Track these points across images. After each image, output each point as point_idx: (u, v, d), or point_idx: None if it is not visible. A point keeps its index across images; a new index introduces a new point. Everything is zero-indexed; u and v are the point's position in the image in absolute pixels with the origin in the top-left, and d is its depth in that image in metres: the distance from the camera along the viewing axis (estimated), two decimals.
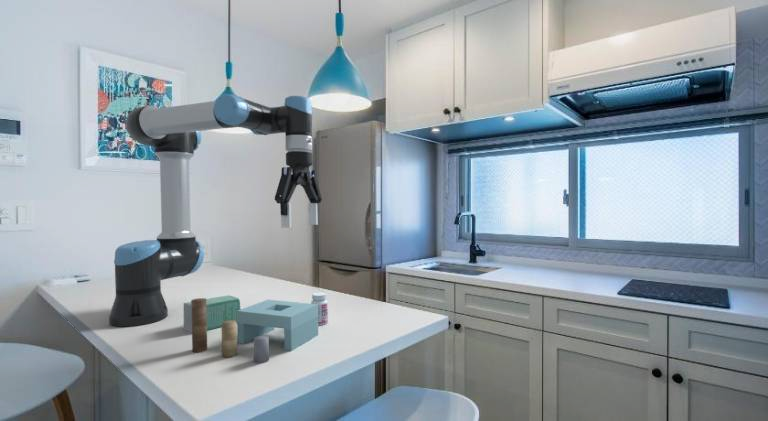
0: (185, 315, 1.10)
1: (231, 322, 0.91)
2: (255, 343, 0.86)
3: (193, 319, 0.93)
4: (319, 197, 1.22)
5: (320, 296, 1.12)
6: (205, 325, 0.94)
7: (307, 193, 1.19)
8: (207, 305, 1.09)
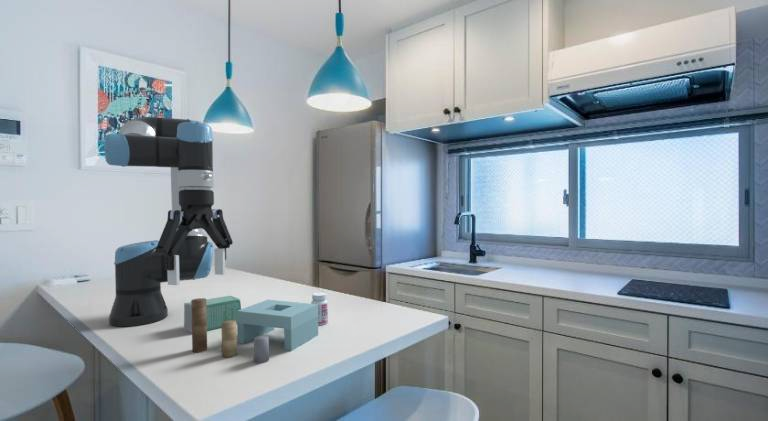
0: (185, 315, 1.10)
1: (231, 322, 0.91)
2: (255, 343, 0.86)
3: (193, 319, 0.93)
4: (228, 241, 1.01)
5: (320, 296, 1.12)
6: (205, 325, 0.94)
7: (211, 237, 0.99)
8: (207, 305, 1.08)
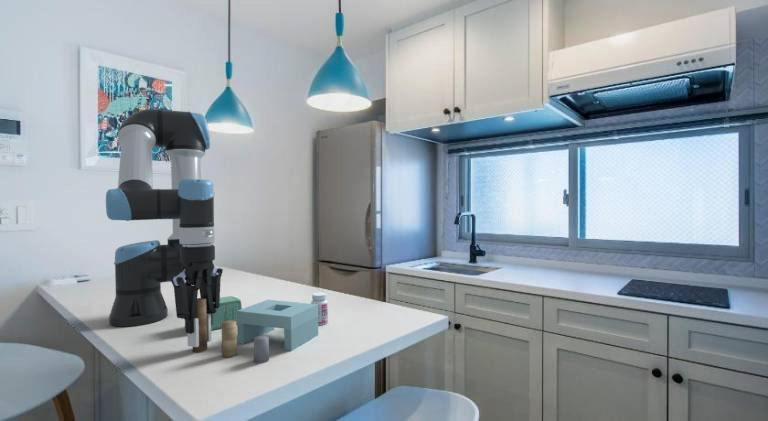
0: None
1: (231, 322, 0.91)
2: (255, 343, 0.86)
3: None
4: (216, 303, 0.98)
5: (320, 296, 1.12)
6: (205, 325, 0.94)
7: (202, 297, 0.96)
8: None
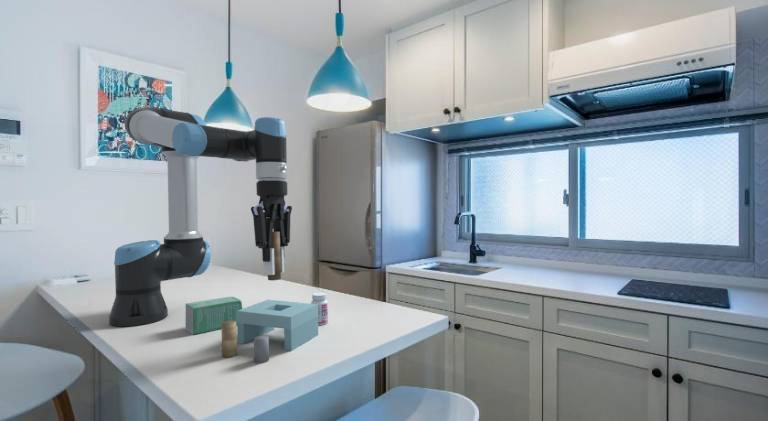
0: (187, 316, 1.09)
1: (231, 322, 0.91)
2: (255, 343, 0.86)
3: None
4: (287, 238, 1.04)
5: (320, 296, 1.12)
6: (279, 255, 1.00)
7: None
8: (207, 306, 1.08)
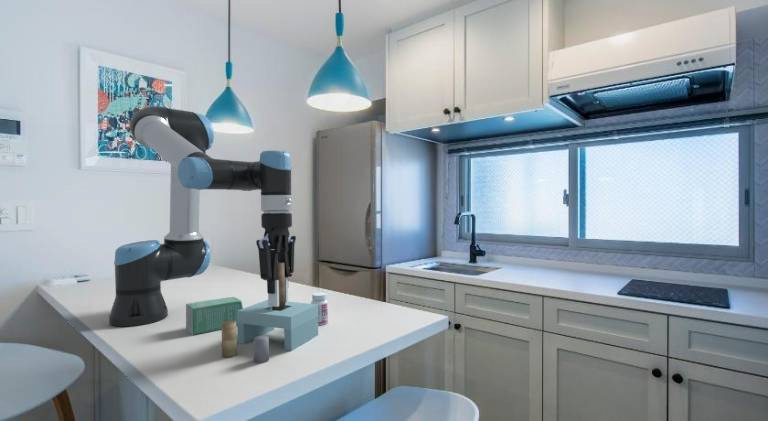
0: (187, 316, 1.09)
1: (231, 322, 0.91)
2: (255, 343, 0.86)
3: None
4: (291, 268, 1.05)
5: (320, 296, 1.12)
6: (284, 286, 1.01)
7: (279, 261, 1.03)
8: (207, 307, 1.07)
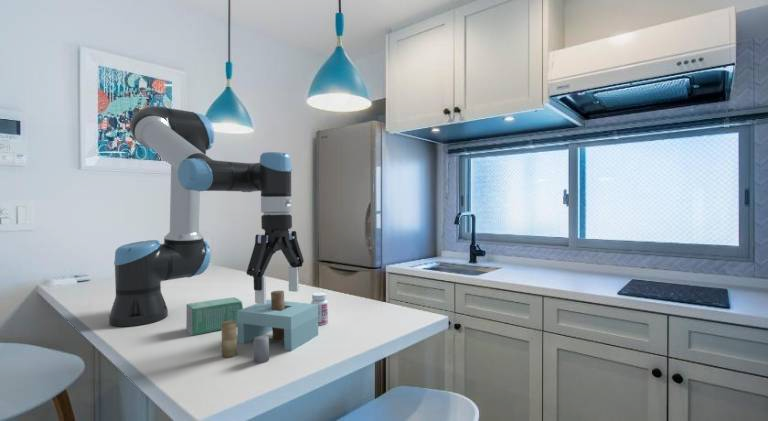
0: (187, 316, 1.09)
1: (231, 322, 0.91)
2: (255, 343, 0.86)
3: None
4: (300, 260, 1.09)
5: (320, 296, 1.12)
6: None
7: (287, 257, 1.06)
8: (207, 307, 1.07)
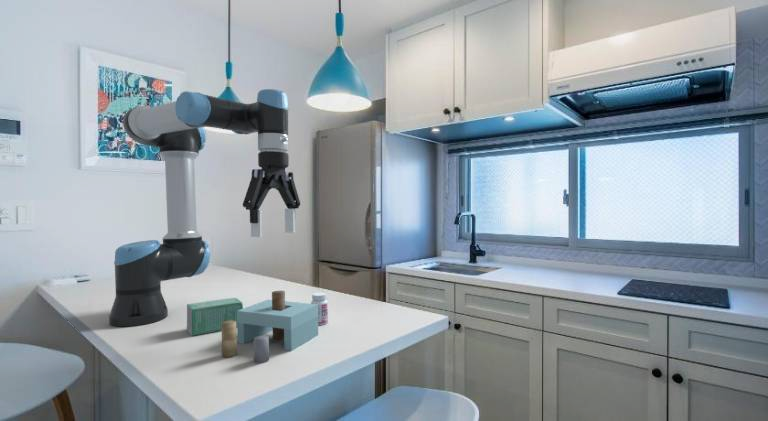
0: (187, 316, 1.09)
1: (231, 322, 0.91)
2: (255, 343, 0.86)
3: None
4: (297, 202, 1.10)
5: (320, 296, 1.12)
6: None
7: (283, 198, 1.07)
8: (206, 308, 1.06)
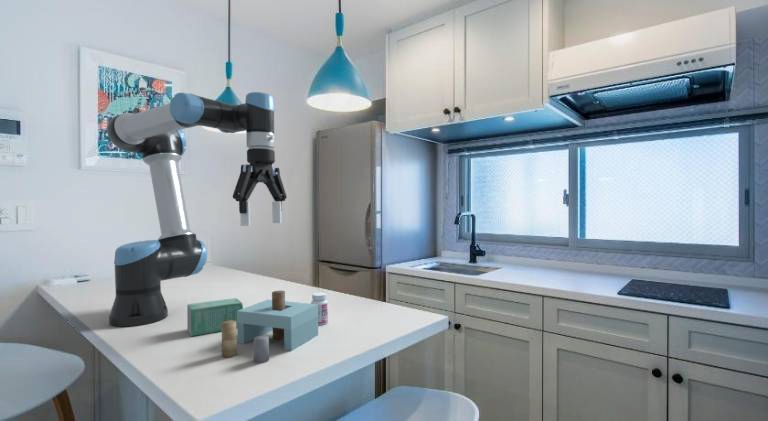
0: (188, 317, 1.08)
1: (231, 322, 0.91)
2: (255, 343, 0.86)
3: None
4: (283, 195, 1.20)
5: (320, 296, 1.12)
6: None
7: (270, 191, 1.17)
8: (206, 308, 1.06)
